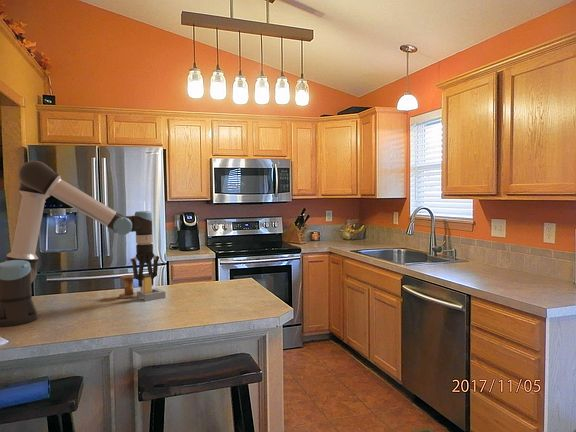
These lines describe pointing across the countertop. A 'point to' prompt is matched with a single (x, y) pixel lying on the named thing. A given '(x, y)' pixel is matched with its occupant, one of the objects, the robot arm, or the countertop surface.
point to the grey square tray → (152, 295)
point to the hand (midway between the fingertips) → (146, 292)
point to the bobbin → (128, 287)
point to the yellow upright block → (147, 283)
